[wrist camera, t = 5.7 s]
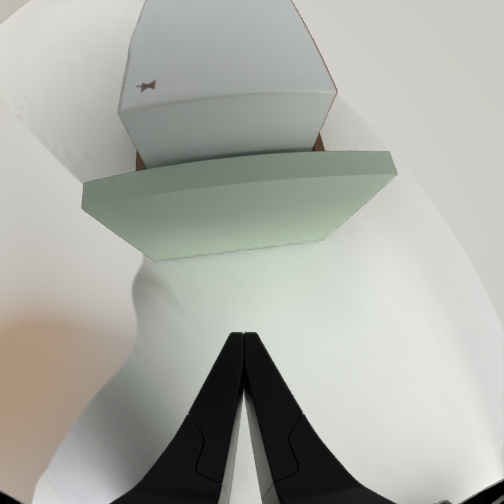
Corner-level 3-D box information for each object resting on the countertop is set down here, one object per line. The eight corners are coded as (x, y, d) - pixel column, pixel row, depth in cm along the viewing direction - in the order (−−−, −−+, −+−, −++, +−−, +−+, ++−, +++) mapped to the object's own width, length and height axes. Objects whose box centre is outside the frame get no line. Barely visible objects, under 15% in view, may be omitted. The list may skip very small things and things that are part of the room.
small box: (279, 228, 20) (344, 95, 7) (185, 239, 19) (109, 116, 6) (261, 130, 21) (284, -18, 8) (180, 139, 21) (143, -7, 8)
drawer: (154, 260, 18) (81, 208, 9) (153, 123, 21) (118, 28, 11) (324, 240, 19) (397, 174, 10) (292, 109, 22) (319, 12, 12)
